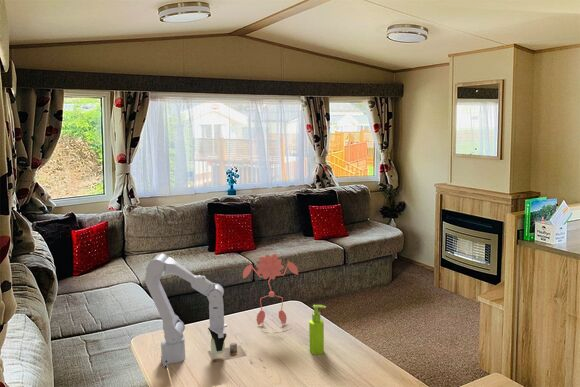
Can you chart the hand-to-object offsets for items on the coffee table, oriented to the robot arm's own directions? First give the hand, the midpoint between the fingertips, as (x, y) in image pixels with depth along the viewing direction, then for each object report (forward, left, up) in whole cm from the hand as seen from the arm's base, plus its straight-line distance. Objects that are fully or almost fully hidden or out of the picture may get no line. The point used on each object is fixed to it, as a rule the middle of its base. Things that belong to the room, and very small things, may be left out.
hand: (217, 347), depth 197 cm
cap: (0, 0, -2) cm, 2 cm away
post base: (+4, +2, -5) cm, 7 cm away
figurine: (+30, +22, -6) cm, 38 cm away
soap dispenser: (+40, -9, -6) cm, 42 cm away
